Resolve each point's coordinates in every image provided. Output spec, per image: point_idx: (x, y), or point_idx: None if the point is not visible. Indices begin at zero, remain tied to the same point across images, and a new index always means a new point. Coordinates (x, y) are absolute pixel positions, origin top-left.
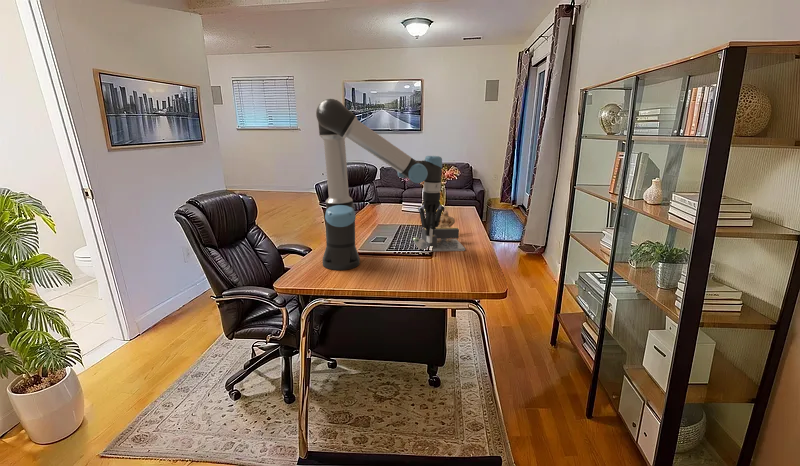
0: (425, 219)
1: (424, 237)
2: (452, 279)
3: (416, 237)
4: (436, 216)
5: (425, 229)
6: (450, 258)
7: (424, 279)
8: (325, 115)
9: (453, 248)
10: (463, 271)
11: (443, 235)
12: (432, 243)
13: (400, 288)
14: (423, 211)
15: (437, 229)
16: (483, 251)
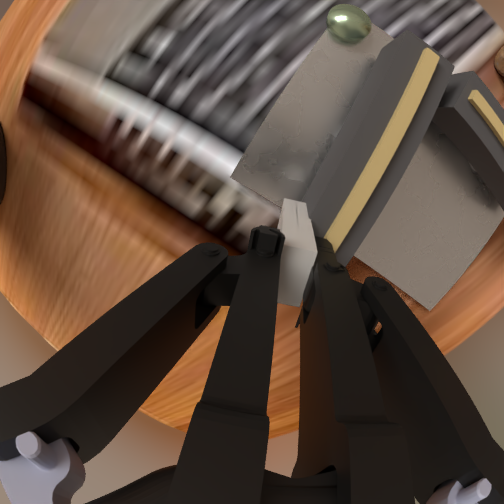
0: (163, 373)
1: (359, 102)
2: (173, 399)
3: (363, 15)
4: (408, 390)
5: (416, 69)
6: (294, 330)
7: None
8: None
9: (398, 284)
10: None
11: (484, 170)
12: None
13: None
14: (75, 456)
15: (490, 141)
16: (453, 338)
